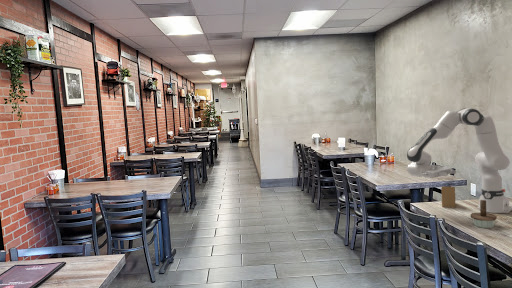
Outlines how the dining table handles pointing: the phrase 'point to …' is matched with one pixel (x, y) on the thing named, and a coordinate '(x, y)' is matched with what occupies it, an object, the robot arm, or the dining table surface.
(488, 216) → the walnut lid
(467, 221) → the dining table surface
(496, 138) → the robot arm
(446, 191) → the sandwich container
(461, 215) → the dining table surface
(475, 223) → the celadon bowl
